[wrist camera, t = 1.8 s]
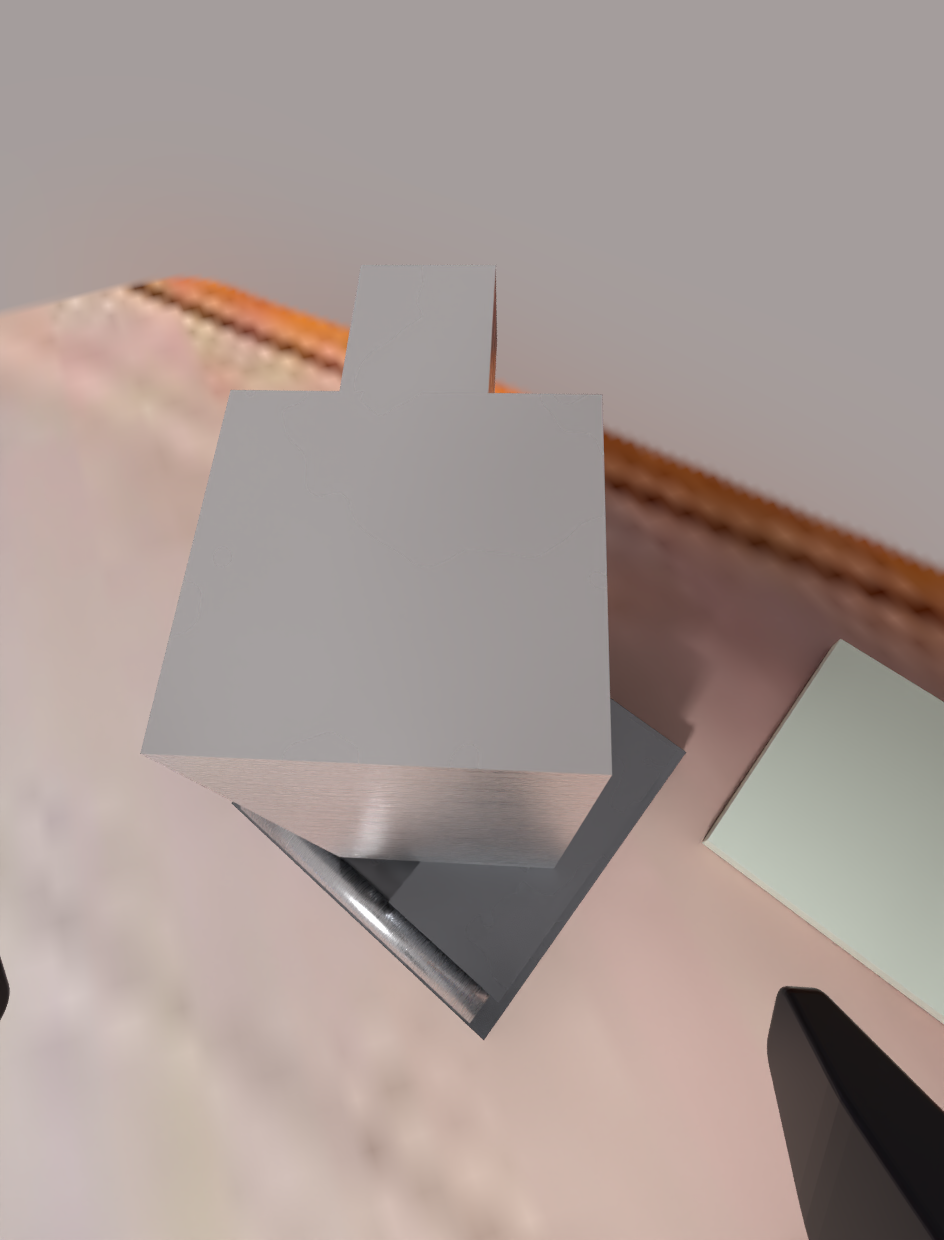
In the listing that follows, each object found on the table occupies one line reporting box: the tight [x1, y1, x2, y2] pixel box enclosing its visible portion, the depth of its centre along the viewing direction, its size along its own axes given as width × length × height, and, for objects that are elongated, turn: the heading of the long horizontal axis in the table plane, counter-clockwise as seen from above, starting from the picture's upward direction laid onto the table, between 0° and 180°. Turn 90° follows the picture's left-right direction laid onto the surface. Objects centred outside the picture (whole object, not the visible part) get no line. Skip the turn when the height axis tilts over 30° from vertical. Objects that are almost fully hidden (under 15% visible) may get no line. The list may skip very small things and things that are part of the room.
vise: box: [232, 698, 686, 1040], centre depth 18 cm, size 9×9×6 cm
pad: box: [702, 639, 944, 1024], centre depth 20 cm, size 8×8×1 cm
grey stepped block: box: [140, 265, 612, 868], centre depth 14 cm, size 7×5×10 cm
